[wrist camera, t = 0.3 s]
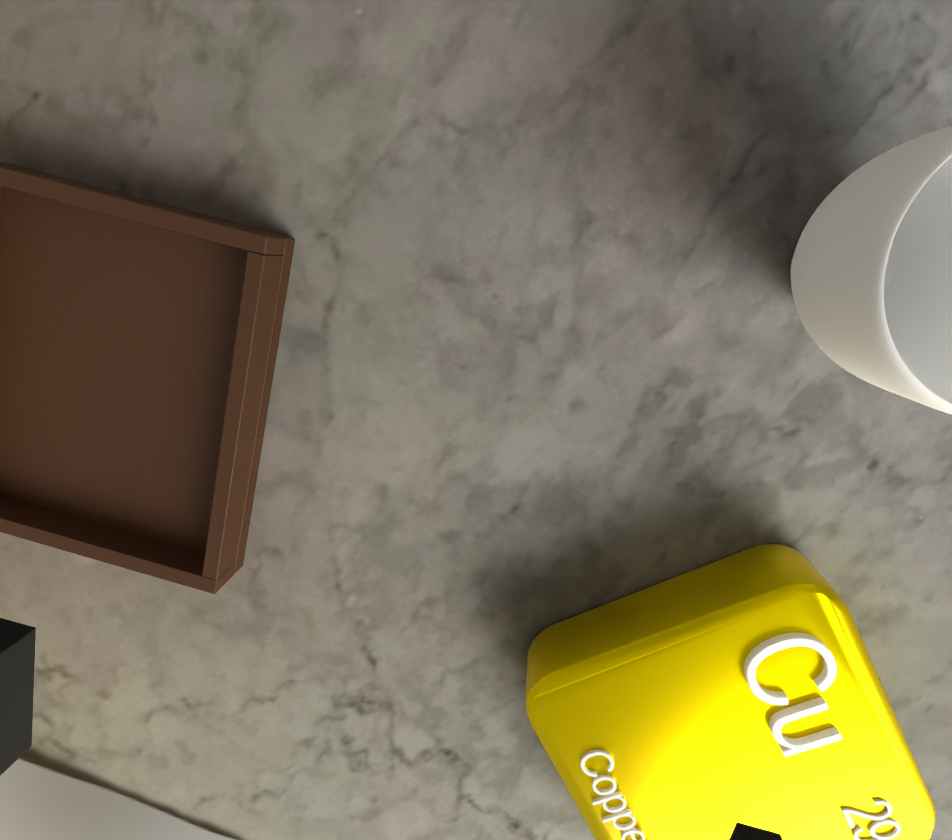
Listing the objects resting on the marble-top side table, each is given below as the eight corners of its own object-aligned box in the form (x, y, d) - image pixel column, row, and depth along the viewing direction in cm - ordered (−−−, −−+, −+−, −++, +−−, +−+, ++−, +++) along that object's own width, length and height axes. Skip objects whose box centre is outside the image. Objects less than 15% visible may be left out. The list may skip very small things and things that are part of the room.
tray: (6, 163, 30) (-53, 152, 27) (295, 238, 29) (267, 236, 26) (-6, 494, 34) (-57, 515, 32) (243, 566, 34) (214, 594, 31)
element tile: (514, 636, 33) (508, 697, 28) (794, 527, 30) (838, 575, 25) (631, 849, 35) (644, 937, 31) (901, 770, 32) (960, 854, 28)
